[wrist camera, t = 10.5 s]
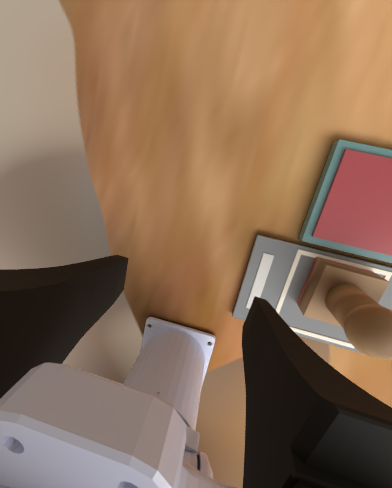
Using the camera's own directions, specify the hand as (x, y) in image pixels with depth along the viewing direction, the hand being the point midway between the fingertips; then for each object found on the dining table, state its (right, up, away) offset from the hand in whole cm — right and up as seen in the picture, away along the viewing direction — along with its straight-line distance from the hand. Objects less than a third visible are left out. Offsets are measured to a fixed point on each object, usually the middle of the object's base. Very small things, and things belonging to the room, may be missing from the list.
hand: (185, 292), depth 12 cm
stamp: (+13, -1, +8) cm, 16 cm away
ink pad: (+15, +6, +7) cm, 18 cm away
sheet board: (+12, -2, +10) cm, 16 cm away
